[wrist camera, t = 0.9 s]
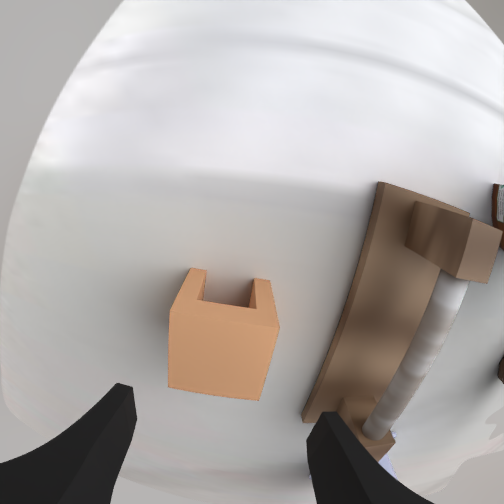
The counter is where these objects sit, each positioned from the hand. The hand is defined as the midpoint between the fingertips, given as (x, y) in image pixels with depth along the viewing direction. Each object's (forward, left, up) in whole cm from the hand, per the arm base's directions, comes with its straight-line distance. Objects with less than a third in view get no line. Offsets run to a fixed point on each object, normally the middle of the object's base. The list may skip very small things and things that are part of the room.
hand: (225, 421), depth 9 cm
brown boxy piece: (0, -12, -9) cm, 15 cm away
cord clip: (0, 0, -10) cm, 10 cm away
